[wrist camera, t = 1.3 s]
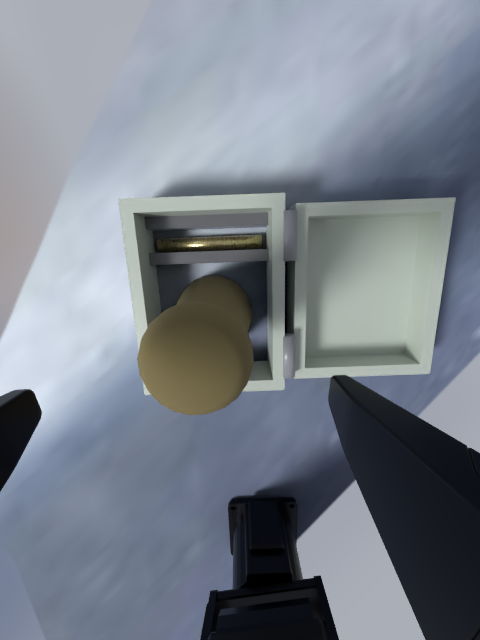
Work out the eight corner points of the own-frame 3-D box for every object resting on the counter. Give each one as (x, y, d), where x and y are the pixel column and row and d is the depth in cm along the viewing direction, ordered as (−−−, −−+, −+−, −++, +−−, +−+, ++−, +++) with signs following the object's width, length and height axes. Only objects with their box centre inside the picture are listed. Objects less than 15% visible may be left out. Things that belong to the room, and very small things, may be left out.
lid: (406, 359, 22) (429, 373, 20) (286, 363, 22) (293, 378, 20) (425, 204, 20) (455, 197, 17) (288, 210, 20) (296, 203, 17)
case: (286, 368, 23) (296, 390, 19) (158, 373, 23) (143, 396, 19) (288, 202, 19) (299, 191, 16) (138, 208, 19) (116, 198, 16)
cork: (256, 279, 21) (275, 307, 10) (248, 352, 22) (257, 444, 12) (178, 271, 21) (113, 291, 10) (174, 345, 22) (115, 432, 11)
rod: (260, 242, 21) (261, 251, 20) (161, 246, 21) (159, 255, 20) (261, 231, 20) (262, 240, 19) (157, 236, 20) (155, 244, 19)
